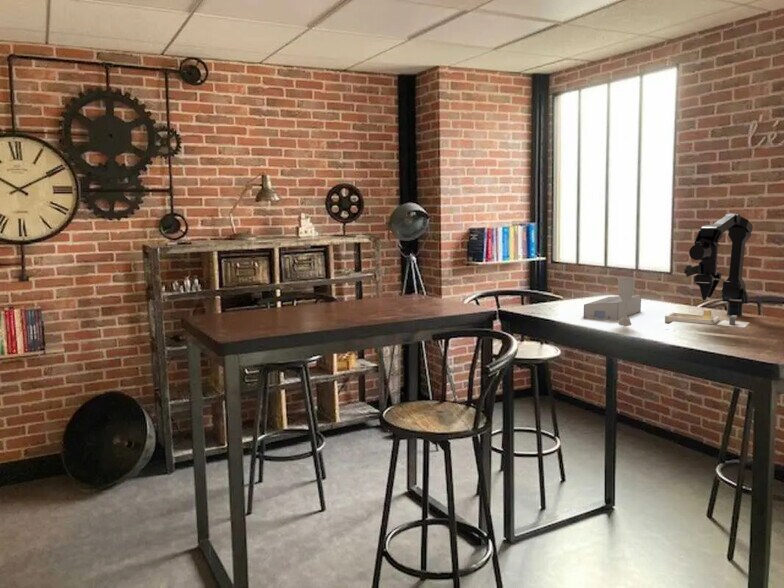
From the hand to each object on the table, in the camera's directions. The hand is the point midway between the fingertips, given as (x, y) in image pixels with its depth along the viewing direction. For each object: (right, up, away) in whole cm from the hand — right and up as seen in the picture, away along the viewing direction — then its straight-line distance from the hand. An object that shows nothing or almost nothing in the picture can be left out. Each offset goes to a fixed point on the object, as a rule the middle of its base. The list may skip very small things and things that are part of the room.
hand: (706, 298), depth 256 cm
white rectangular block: (+8, -11, -4) cm, 14 cm away
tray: (-4, -10, +4) cm, 11 cm away
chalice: (-31, -10, +2) cm, 33 cm away
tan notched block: (-3, -9, +4) cm, 10 cm away
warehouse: (-28, -7, +27) cm, 39 cm away
